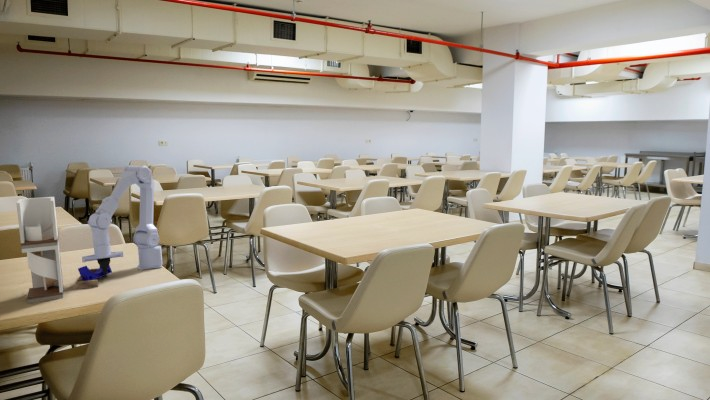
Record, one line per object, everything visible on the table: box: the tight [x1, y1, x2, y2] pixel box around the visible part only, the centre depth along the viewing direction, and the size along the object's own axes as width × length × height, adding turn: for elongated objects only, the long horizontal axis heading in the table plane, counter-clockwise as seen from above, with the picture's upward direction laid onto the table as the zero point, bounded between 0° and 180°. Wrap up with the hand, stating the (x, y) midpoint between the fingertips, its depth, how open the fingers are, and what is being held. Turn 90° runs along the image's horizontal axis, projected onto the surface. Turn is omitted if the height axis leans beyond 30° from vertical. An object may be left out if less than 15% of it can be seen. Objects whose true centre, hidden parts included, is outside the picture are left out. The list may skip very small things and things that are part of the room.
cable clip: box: [77, 264, 113, 281], centre depth 198 cm, size 12×4×6 cm, turn 164°
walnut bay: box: [76, 267, 99, 289], centre depth 197 cm, size 7×18×3 cm, turn 18°
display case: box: [16, 196, 64, 304], centre depth 178 cm, size 11×11×35 cm
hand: (105, 276), depth 198 cm, fingers closed, pressing on cable clip
